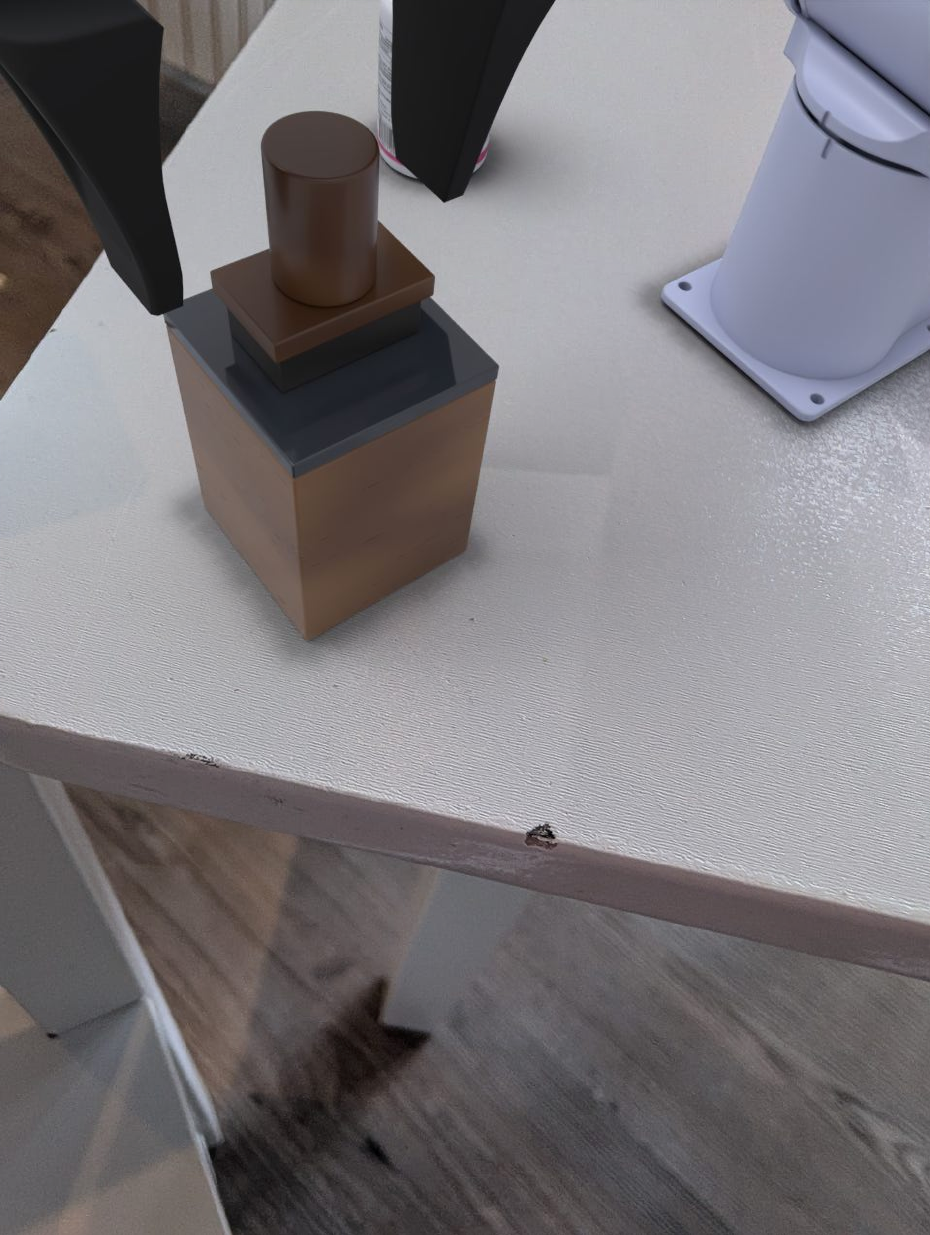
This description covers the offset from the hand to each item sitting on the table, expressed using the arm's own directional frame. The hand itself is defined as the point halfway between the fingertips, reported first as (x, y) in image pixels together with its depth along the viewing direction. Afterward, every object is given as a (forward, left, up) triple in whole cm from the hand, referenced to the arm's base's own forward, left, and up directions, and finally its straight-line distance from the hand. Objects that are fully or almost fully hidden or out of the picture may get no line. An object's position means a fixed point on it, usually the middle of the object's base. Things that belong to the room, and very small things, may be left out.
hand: (297, 227), depth 22 cm
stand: (0, +1, -10) cm, 10 cm away
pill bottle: (-15, -13, -10) cm, 22 cm away
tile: (0, +1, -3) cm, 3 cm away
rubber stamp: (0, +1, -2) cm, 3 cm away
